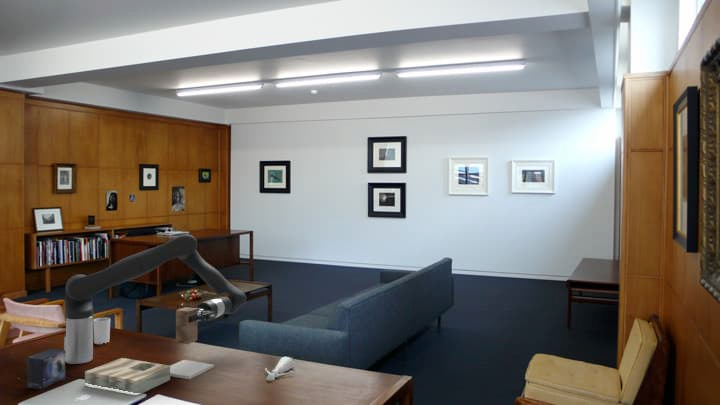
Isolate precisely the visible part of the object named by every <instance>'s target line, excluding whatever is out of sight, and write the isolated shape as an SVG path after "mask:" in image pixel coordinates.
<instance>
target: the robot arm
mask: <svg viewBox="0 0 720 405" xmlns="http://www.w3.org/2000/svg"><path fill="white" fill-rule="evenodd" d="M197 247H198V241H197V238H195V236H193V235H191V234H181V235H179V236H176V237H175V238H172V239H171V240H168V241H167V242H164V243H162V244H159V245H157V246H154V247H152V248H148V249H146V250H142V251H140V252H138V253H135V254H132V255H129V256H127V257H123V258H122V259H120V260H118V261H117V262H115V263H112V264H111V265H110V266H108V267H106V268H104V269H103V270H100V271H97V272H94V273H91V274H88V275H85V274H81V273H79V274H74V275H73V276H71V277H70V278H69V279H67V281H66V282H65V284H66V285H65V336H64V338H63V350H66V353H65V364H69V365H79V364H80V365H81V364H85V363H89V362H91V361H93V359H94V354H93V353H94V321H93V320H94V305H93V296H95V295H96V294H98V293H101V292H102V291H105V290H106V289H109V288H112V287H114V286H118V285H121V284H124V283H126V282H128V281H132V280H134V279H137V278H139V277H142V276H144V275H146V274H148V273H150V272H153V271H155V269H157V268H158V267H160V266H161V265H163V264H164V263H166V262H168V261H171V260H173V259H176V258H178V259H179V260H180V261H182V262H183V263H185V264H186V265H187V266H188V267H189V268H191V269H192V270H193V271H194V272H195V273H196V274H197V275H198V276H199V277H200V278H201V279H202V281H204V283H206V284H207V286H208V287H209V288H210V289H211V290H212V291H213V292H214V293H215V295H217V296H220V297H217V298H212V299H209V300H205V301H202V302H200V303H198V304H197V306H196V307H195V308H198V314H196V315H193V316H190V317H188V322H189V323H191V322H194V321H198V322H208V321H211V320H213V319H216V318H219V317H220V316H223V315H226V314H227V315H232V314H234V313H236V312H237V311H238V310H239V309H240V308H241V307H242V306H243V305H245V303H246V302H247V296H246V293H245V292H244V291H243V290H242V289H240V288H238V287H237V286H235V285H233V283H231V282H229V281H228V280H227V279H226V278H225V276H223V274H222V273H221V272H220V271H219V270H218V269H216V268H215V267H214V266H212V265H211V264H209V263H208V262H207V261H205V259H204V258H203V257H202V256H201V255H200V253H199V252H198V251H197ZM224 293H225V294H228V295H227V296H221V295H223V294H224ZM174 321H175V322H176V314H175V315H174Z"/></svg>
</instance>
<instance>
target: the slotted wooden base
mask: <svg viewBox="0 0 720 405" xmlns="http://www.w3.org/2000/svg"><path fill="white" fill-rule="evenodd" d="M170 366H171V365H168V364H164V363H163V364H161V363H156V362H148V361H144V360H143V361H142V360H137V359H131V358H125V357H120V358H118V359H114V360H112V361H110V362H107V363H105V364H102V365H99V366H96V367H93V368H92V369H88V370H85V371H84V384H85V383H88V384H92V385H97V386H101V387H108V388H113V389H119V390H123V391H128V392H133V393H142V394H143V393H145V392H148V391H149V390H151V389H154V388H156V387H158V386H160V385H162V384H165V383H167V382H168V381H170V380H171V376H170Z"/></svg>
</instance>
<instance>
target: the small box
mask: <svg viewBox="0 0 720 405" xmlns="http://www.w3.org/2000/svg"><path fill="white" fill-rule="evenodd" d="M65 353H66V350H64V349H59V348H58V349H56V348H49V349H46V350H43V351H40V352H38V353H35V354H32V355H30V356H27V365H26V366H27V368H26V369H27V370H26V373H27V374H26V377H27V378H26V388H27V389H36V390H44V389H46V388H48V387H50V386H52V385H55V384H57V383H60V382H62V381H64V380H66V361H65Z"/></svg>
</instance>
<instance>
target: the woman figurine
mask: <svg viewBox="0 0 720 405" xmlns="http://www.w3.org/2000/svg"><path fill="white" fill-rule="evenodd" d="M294 365H295V362H294V360H293V357H289V356H283V357H281V358H280V359H279V361H278V362H277V364H276V366H275V367H274V368H273V369H272V371H271V372H270V371H269V370H268V368H267V367H266V368H264V371H265V372H266V373H267V374H268V375H267V376H266V380H267V381H269V382H274V381H275V378H278V377H281V376H285V375H290V374H293V373H294V371H293V370H292V369H293V368H294ZM288 371H289V372H288Z"/></svg>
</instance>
